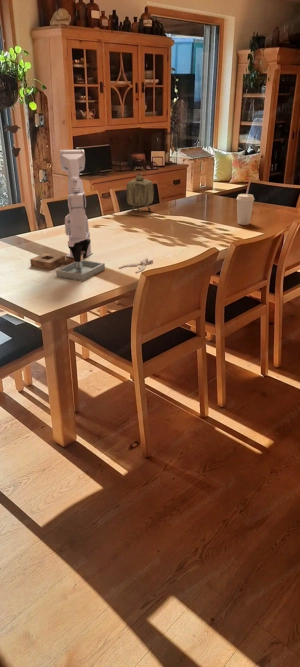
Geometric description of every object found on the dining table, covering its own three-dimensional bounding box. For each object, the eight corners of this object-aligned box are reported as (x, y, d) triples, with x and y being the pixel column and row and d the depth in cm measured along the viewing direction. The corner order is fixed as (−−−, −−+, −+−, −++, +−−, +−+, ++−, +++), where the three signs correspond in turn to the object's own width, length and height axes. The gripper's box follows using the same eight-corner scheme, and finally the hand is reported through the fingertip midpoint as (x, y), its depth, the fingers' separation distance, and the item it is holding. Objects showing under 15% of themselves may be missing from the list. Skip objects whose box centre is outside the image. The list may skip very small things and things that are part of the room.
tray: (80, 264, 207) (80, 259, 206) (104, 269, 202) (104, 263, 201) (56, 276, 194) (56, 270, 193) (82, 281, 189) (81, 275, 188)
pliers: (117, 265, 203) (140, 256, 214) (118, 269, 204) (140, 260, 214) (136, 270, 198) (159, 261, 208) (136, 274, 198) (159, 264, 209)
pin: (76, 266, 200) (77, 247, 197) (86, 268, 199) (87, 250, 196) (71, 269, 197) (71, 250, 193) (81, 272, 196) (81, 253, 192)
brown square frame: (46, 259, 213) (45, 252, 212) (65, 263, 209) (64, 256, 208) (30, 266, 205) (30, 259, 204) (50, 270, 201) (49, 262, 200)
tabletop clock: (153, 210, 300) (153, 167, 289) (147, 213, 292) (147, 169, 281) (131, 208, 305) (131, 165, 294) (125, 211, 298) (124, 167, 287)
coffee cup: (248, 226, 266) (250, 197, 259) (231, 224, 270) (233, 195, 264) (254, 222, 273) (257, 194, 267) (238, 220, 278) (240, 192, 271)
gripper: (77, 220, 197) (79, 253, 203) (59, 229, 185) (62, 264, 191) (93, 221, 195) (95, 255, 201) (76, 230, 183) (78, 266, 189)
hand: (80, 259), depth 196 cm, fingers open, 4 cm apart
